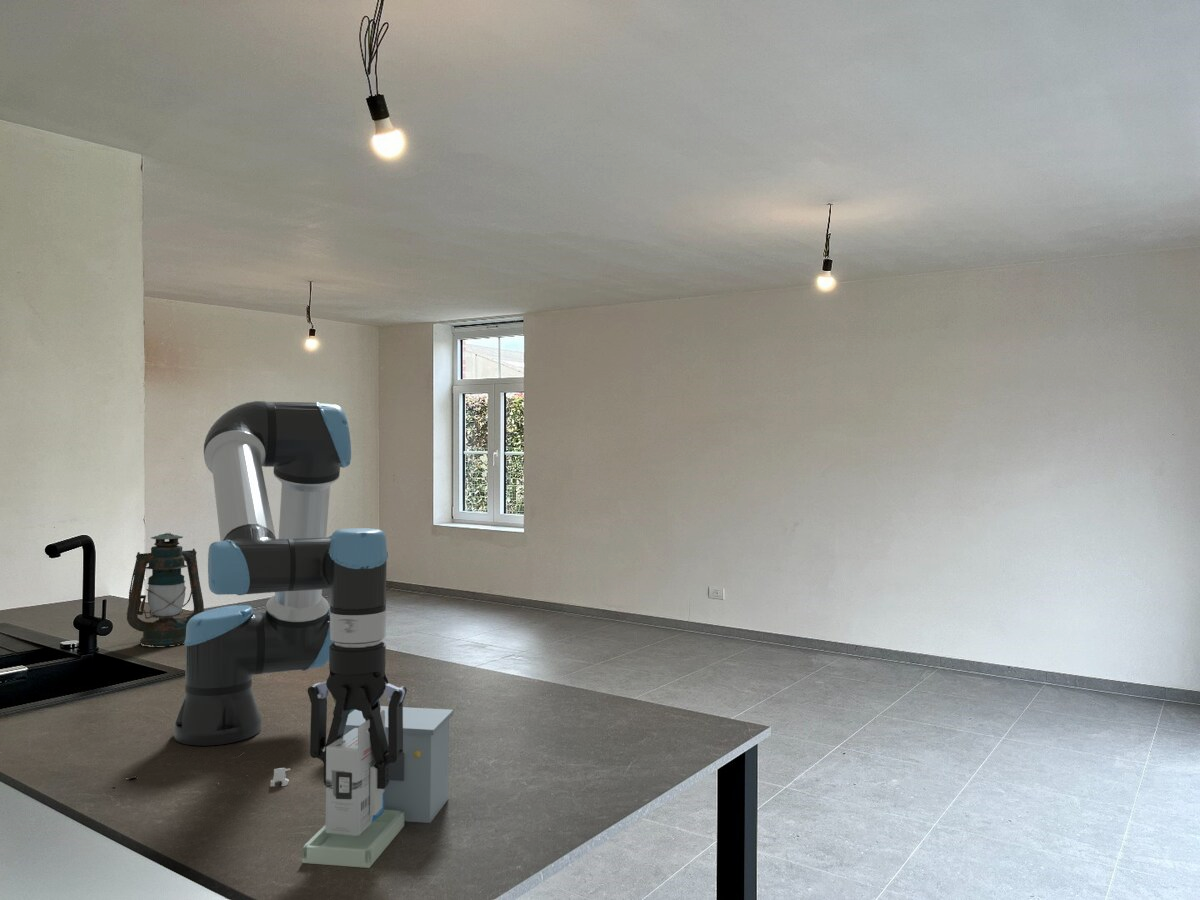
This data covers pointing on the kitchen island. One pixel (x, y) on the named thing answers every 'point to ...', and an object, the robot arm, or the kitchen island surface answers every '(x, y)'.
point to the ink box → (350, 782)
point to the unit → (417, 763)
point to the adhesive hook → (279, 776)
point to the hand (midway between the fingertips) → (356, 809)
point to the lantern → (164, 592)
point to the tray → (354, 843)
